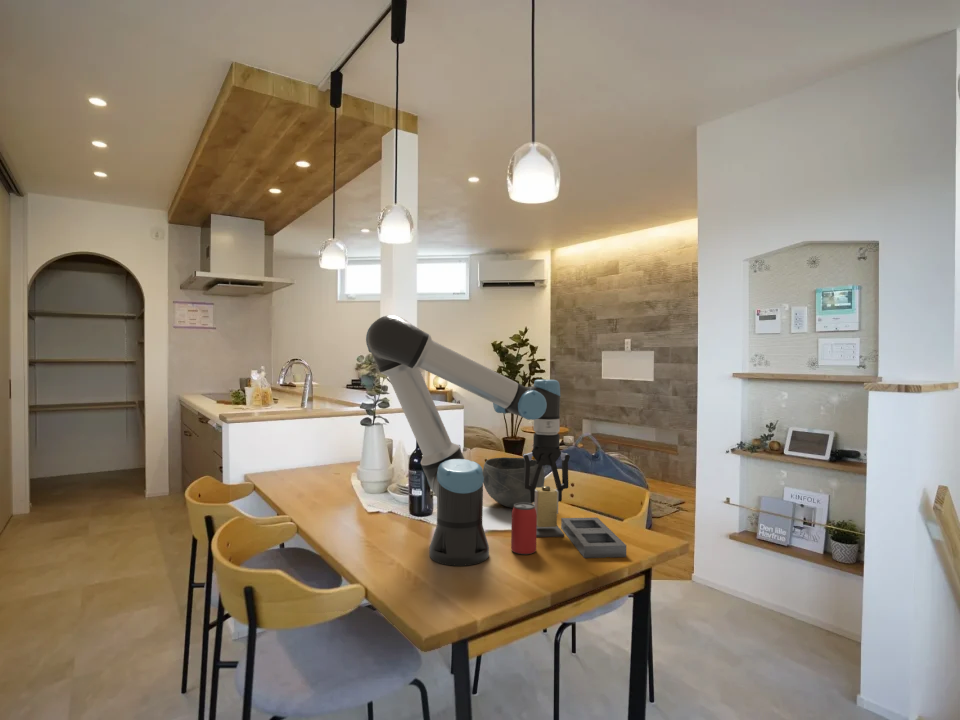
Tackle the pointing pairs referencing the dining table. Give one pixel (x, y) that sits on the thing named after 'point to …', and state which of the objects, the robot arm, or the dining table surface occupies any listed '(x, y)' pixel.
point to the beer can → (523, 528)
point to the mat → (549, 532)
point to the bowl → (509, 480)
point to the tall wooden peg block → (546, 507)
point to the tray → (593, 538)
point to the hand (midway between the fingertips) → (545, 512)
